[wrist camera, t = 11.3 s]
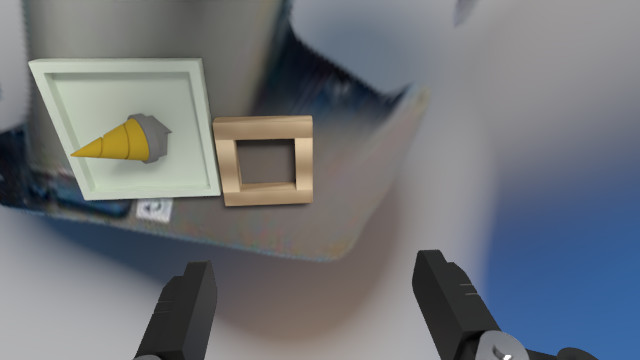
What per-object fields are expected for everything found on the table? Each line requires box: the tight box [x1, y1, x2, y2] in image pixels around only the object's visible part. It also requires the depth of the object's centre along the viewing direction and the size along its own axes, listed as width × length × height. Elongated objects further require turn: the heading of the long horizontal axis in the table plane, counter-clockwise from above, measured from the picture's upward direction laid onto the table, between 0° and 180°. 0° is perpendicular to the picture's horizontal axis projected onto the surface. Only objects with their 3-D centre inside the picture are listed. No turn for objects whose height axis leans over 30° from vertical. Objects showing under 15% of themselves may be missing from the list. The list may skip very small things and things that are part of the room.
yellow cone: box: [70, 113, 172, 164], centre depth 35 cm, size 5×5×10 cm
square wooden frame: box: [212, 115, 312, 206], centre depth 41 cm, size 11×11×2 cm
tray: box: [28, 58, 223, 200], centre depth 38 cm, size 16×16×2 cm
